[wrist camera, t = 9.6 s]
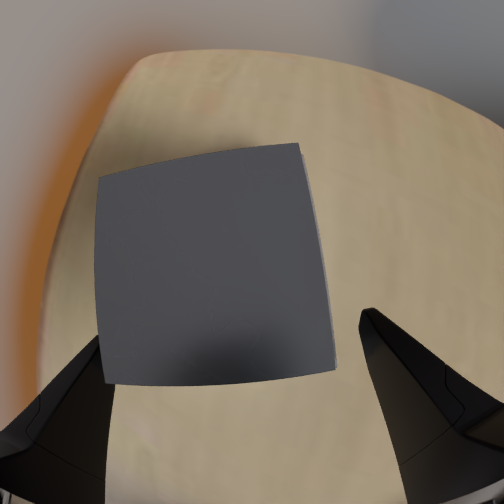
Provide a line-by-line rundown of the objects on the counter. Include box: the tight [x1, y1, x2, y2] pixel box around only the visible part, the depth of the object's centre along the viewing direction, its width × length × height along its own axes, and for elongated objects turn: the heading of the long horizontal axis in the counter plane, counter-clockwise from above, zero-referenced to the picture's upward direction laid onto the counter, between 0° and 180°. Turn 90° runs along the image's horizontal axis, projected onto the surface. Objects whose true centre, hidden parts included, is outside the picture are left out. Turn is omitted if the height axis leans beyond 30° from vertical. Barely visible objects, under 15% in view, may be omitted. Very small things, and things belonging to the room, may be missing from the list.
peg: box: [94, 143, 336, 386], centre depth 12 cm, size 5×5×12 cm
